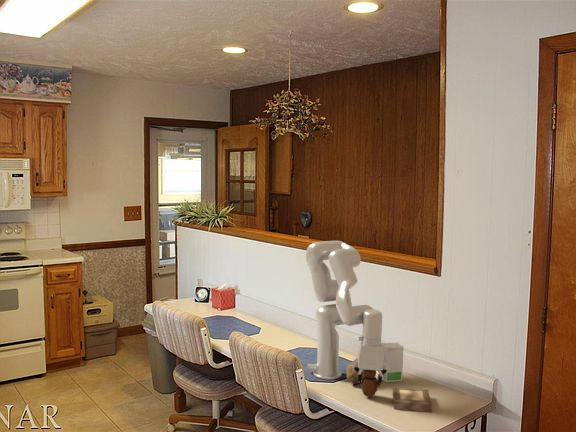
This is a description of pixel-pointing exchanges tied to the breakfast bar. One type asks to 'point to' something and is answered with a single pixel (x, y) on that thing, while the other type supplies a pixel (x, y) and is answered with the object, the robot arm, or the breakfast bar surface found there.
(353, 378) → the natural sponge
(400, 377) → the skincare box
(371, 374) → the wooden figurine
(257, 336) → the breakfast bar surface
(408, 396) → the walnut plinth
